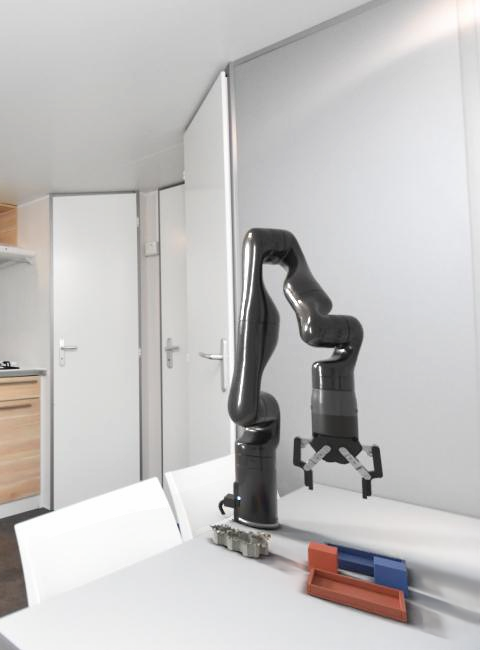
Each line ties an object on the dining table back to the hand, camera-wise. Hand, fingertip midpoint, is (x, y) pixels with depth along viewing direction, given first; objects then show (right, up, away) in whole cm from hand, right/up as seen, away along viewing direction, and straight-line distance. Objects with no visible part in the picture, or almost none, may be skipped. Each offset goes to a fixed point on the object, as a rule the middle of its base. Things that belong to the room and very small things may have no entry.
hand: (337, 493), depth 95 cm
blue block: (+4, -15, -8) cm, 17 cm away
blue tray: (+7, -16, +2) cm, 17 cm away
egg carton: (-14, -16, +9) cm, 23 cm away
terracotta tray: (-6, -14, -11) cm, 19 cm away
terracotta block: (-4, -15, -1) cm, 16 cm away
